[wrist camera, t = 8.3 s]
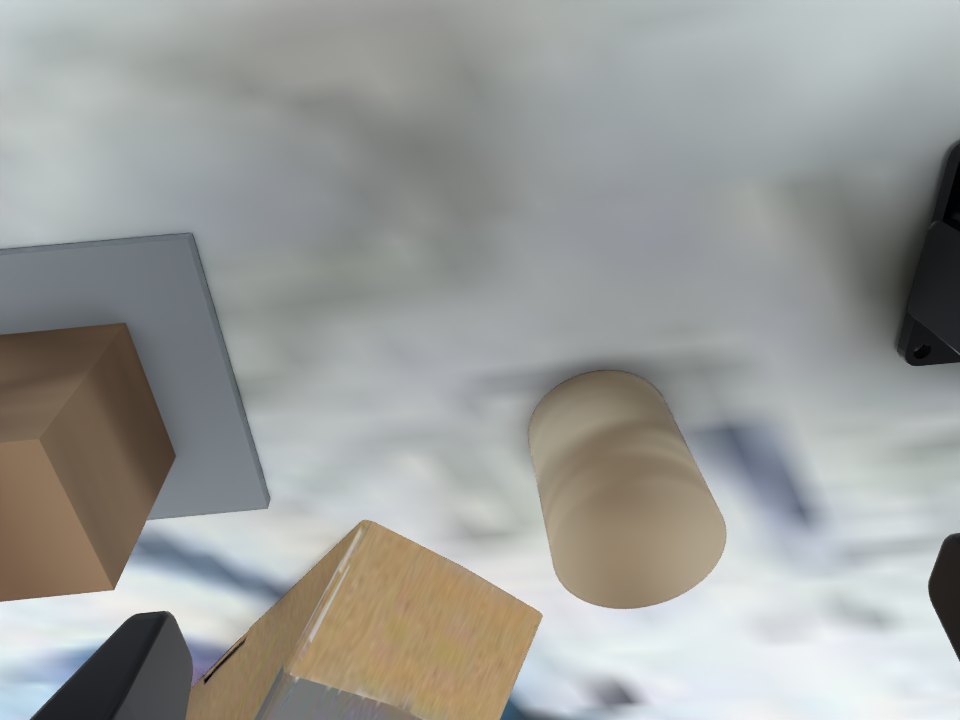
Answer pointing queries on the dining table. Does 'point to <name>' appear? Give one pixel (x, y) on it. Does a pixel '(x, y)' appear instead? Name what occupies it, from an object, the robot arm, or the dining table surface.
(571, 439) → the beech cylinder
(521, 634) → the sandwich container
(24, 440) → the walnut block
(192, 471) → the felt pad
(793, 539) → the dining table surface
